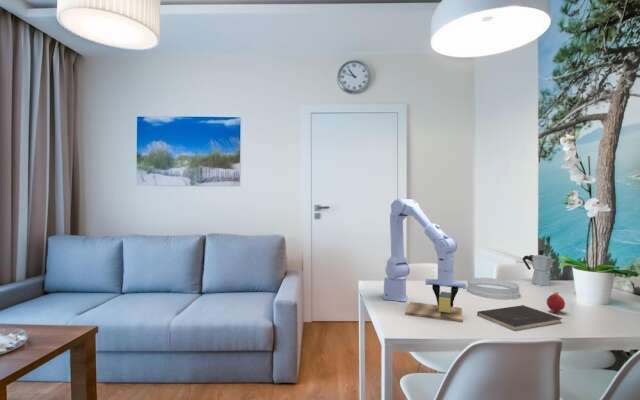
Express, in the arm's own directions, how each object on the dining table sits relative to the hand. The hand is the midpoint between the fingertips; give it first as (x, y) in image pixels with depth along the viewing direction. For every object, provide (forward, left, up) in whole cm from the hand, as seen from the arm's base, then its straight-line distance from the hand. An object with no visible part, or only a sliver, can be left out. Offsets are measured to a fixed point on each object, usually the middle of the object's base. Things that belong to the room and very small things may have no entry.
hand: (445, 305), depth 130 cm
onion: (+40, +19, -3) cm, 44 cm away
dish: (+20, +41, -4) cm, 46 cm away
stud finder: (0, 0, -2) cm, 2 cm away
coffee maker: (+44, +69, -3) cm, 82 cm away
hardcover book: (+25, +5, -4) cm, 26 cm away
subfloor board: (-4, 0, -3) cm, 5 cm away
